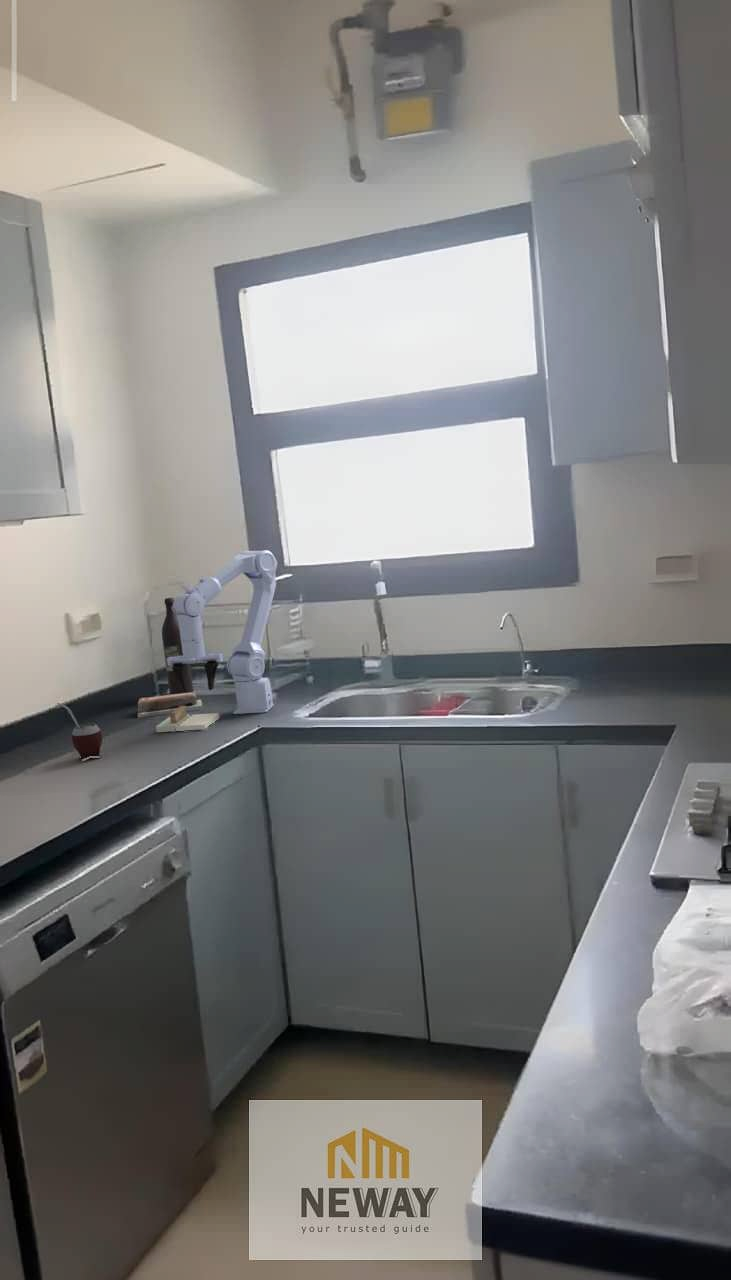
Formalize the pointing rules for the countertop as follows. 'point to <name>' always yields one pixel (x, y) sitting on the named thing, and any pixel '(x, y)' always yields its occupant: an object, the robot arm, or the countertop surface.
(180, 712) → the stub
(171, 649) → the wine bottle
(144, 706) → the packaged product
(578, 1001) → the countertop surface
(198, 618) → the robot arm
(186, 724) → the block
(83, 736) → the mate gourd
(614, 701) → the countertop surface
